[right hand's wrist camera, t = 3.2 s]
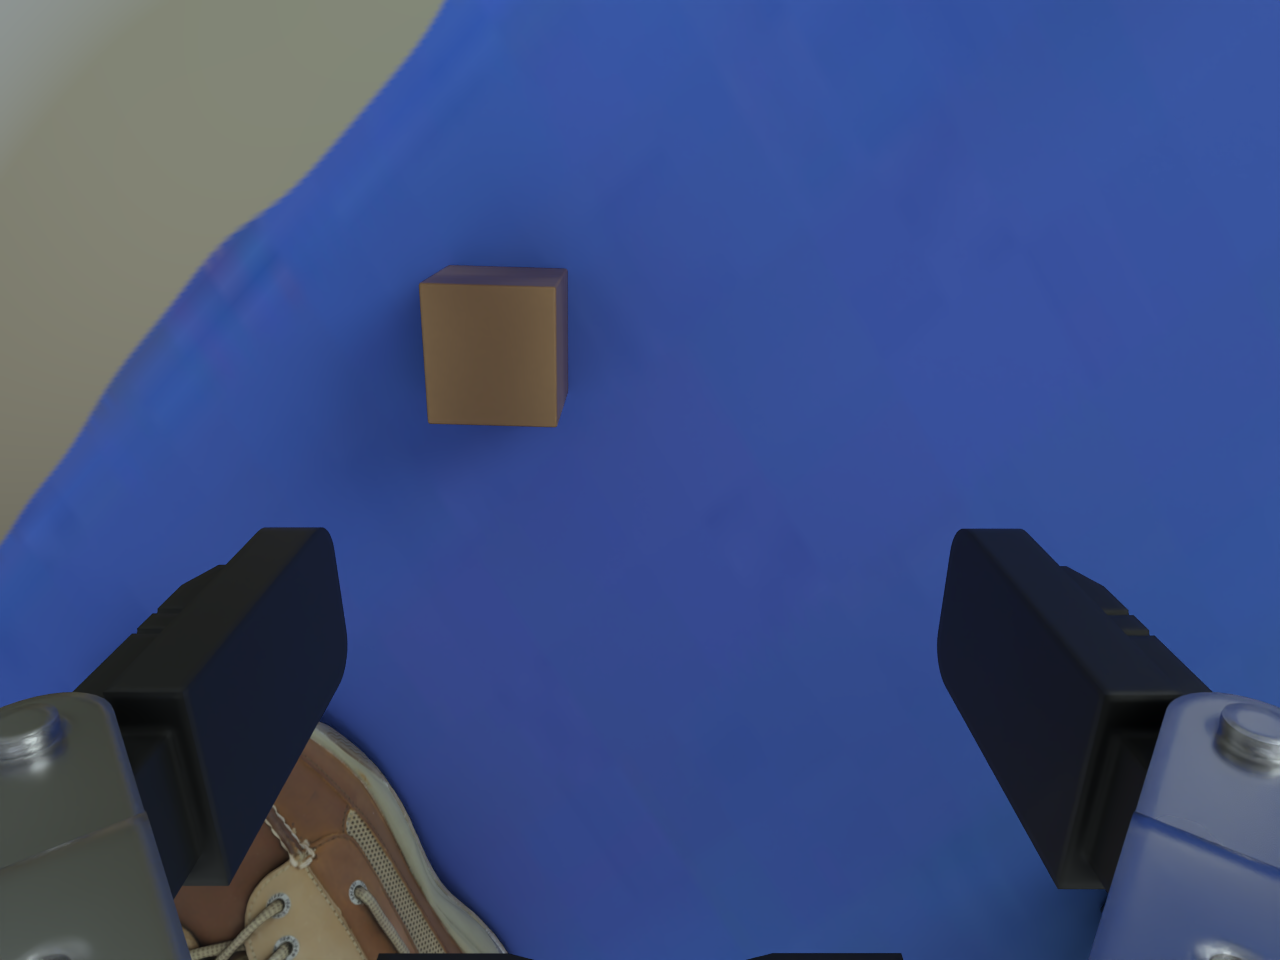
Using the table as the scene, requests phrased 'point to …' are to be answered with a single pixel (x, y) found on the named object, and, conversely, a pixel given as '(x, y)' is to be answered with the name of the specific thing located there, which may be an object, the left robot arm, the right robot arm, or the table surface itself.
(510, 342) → the brick
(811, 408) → the table surface
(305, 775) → the boat shoe
